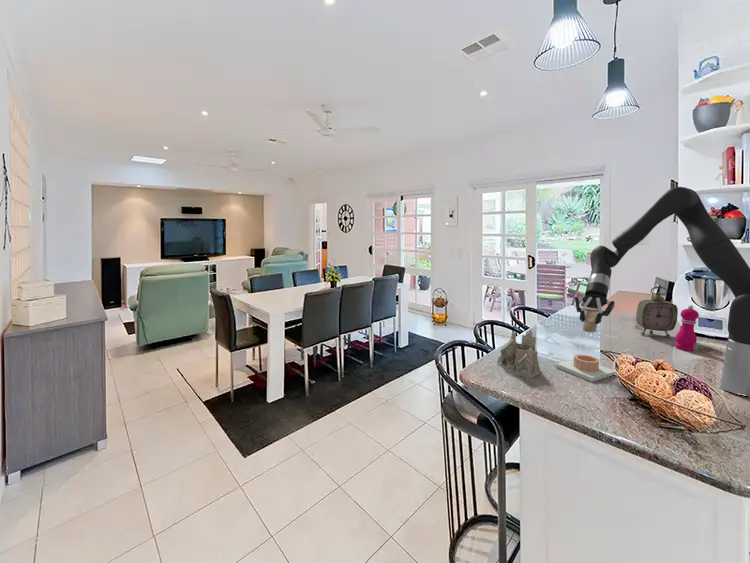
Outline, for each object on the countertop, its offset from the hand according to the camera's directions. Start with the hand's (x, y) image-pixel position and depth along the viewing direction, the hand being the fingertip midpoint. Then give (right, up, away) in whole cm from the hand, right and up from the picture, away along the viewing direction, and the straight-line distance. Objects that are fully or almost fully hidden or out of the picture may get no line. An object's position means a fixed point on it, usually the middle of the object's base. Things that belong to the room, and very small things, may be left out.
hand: (589, 321), depth 133 cm
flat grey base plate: (-3, -18, -3) cm, 19 cm away
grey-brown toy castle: (-28, -18, 0) cm, 33 cm away
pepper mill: (+57, -15, +23) cm, 64 cm away
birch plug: (+1, -4, +2) cm, 5 cm away
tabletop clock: (+60, -12, +44) cm, 75 cm away
